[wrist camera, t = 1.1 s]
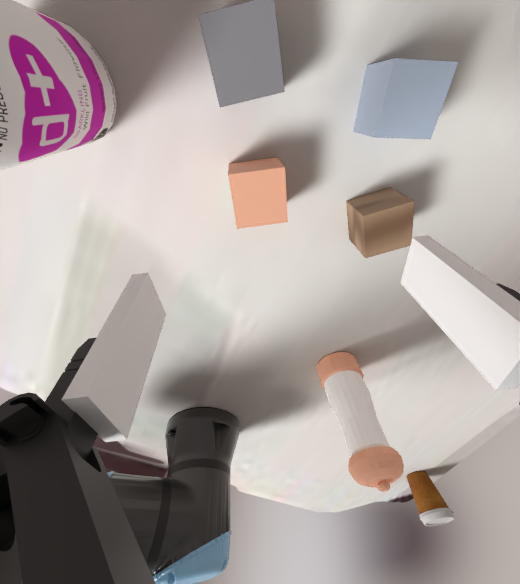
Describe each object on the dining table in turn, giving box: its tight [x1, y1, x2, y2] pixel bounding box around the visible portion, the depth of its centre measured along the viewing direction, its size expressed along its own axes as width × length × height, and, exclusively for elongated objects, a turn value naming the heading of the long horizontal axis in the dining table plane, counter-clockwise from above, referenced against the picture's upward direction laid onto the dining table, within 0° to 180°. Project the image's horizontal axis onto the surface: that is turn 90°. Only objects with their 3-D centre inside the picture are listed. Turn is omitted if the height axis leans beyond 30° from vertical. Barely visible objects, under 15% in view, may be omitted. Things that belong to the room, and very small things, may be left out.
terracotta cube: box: [228, 157, 288, 229], centre depth 26 cm, size 5×5×5 cm
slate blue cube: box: [353, 58, 458, 139], centre depth 23 cm, size 5×5×5 cm
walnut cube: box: [346, 188, 414, 258], centre depth 29 cm, size 5×5×5 cm
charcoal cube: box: [198, 0, 285, 107], centre depth 20 cm, size 5×5×5 cm
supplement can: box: [0, 0, 117, 170], centre depth 16 cm, size 8×8×15 cm
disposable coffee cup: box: [407, 471, 454, 526], centre depth 81 cm, size 10×10×12 cm
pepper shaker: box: [317, 352, 404, 491], centre depth 40 cm, size 7×7×19 cm
